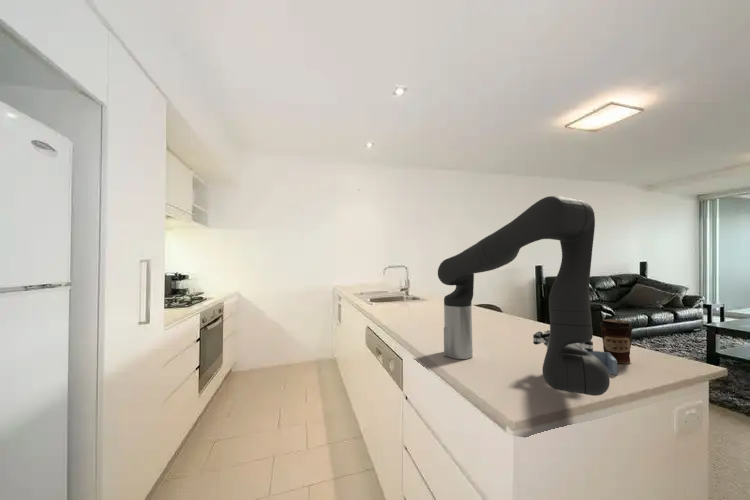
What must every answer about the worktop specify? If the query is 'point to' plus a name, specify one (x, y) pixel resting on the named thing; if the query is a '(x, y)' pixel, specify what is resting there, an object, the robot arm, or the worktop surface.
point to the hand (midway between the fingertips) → (558, 334)
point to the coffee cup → (617, 339)
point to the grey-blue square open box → (606, 361)
